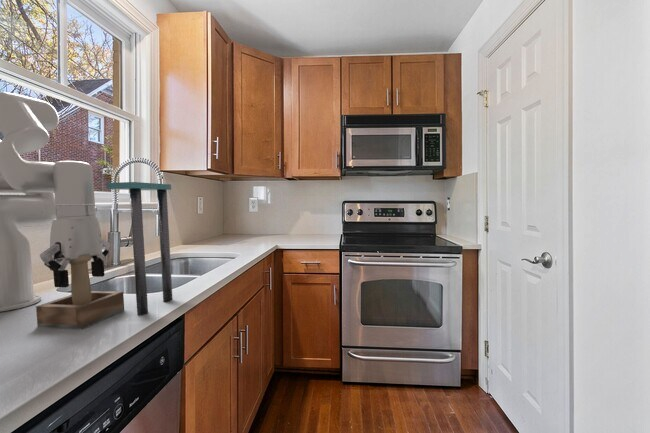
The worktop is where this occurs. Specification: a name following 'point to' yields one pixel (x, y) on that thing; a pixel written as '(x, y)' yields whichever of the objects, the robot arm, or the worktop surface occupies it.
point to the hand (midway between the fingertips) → (81, 281)
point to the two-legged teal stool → (139, 239)
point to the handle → (80, 280)
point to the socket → (79, 311)
